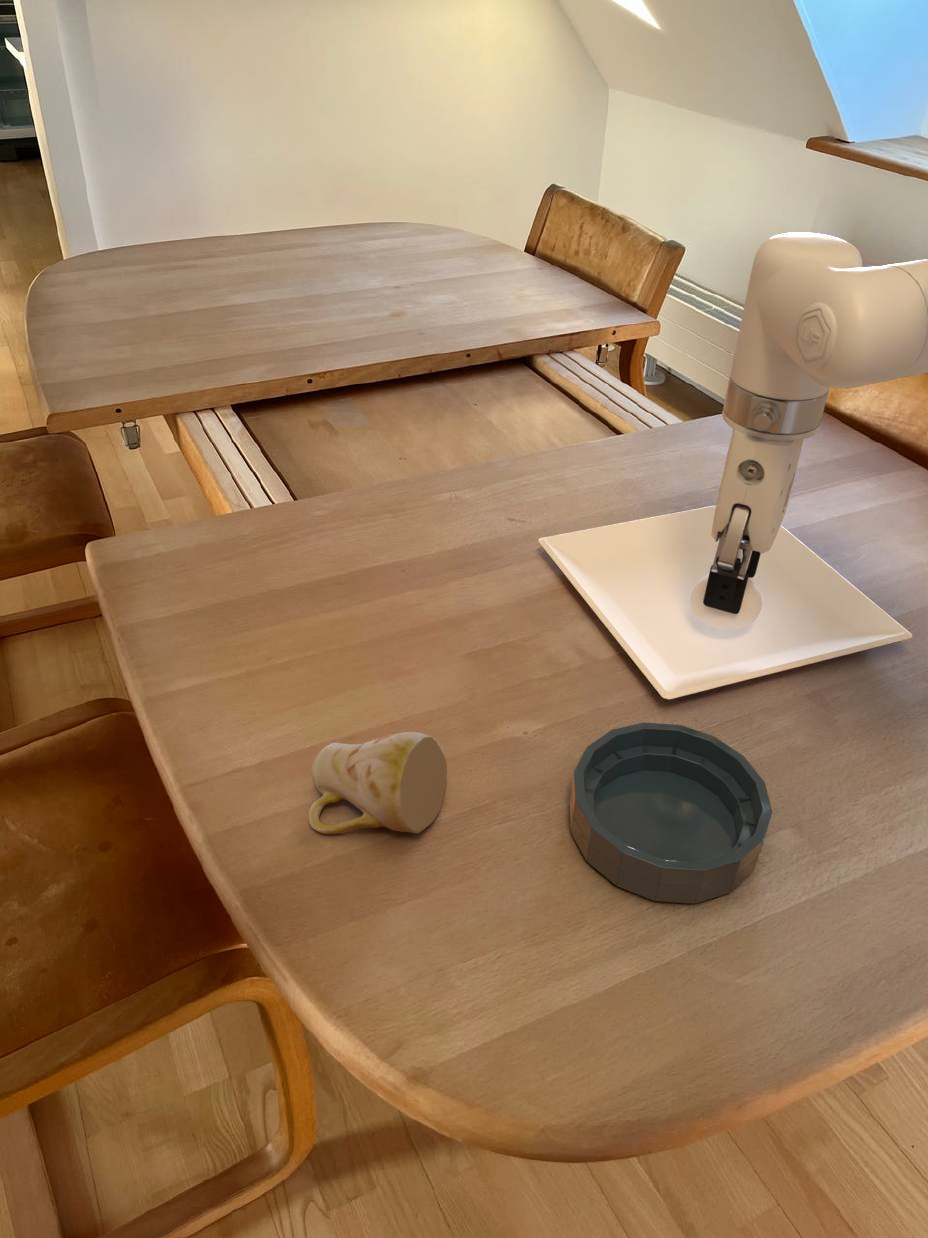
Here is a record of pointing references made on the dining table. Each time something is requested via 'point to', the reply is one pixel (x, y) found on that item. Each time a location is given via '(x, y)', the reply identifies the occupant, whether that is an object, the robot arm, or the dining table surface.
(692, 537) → the plate
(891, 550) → the dining table surface
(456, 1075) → the dining table surface
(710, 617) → the garlic bulb
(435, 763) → the mug
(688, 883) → the bowl
